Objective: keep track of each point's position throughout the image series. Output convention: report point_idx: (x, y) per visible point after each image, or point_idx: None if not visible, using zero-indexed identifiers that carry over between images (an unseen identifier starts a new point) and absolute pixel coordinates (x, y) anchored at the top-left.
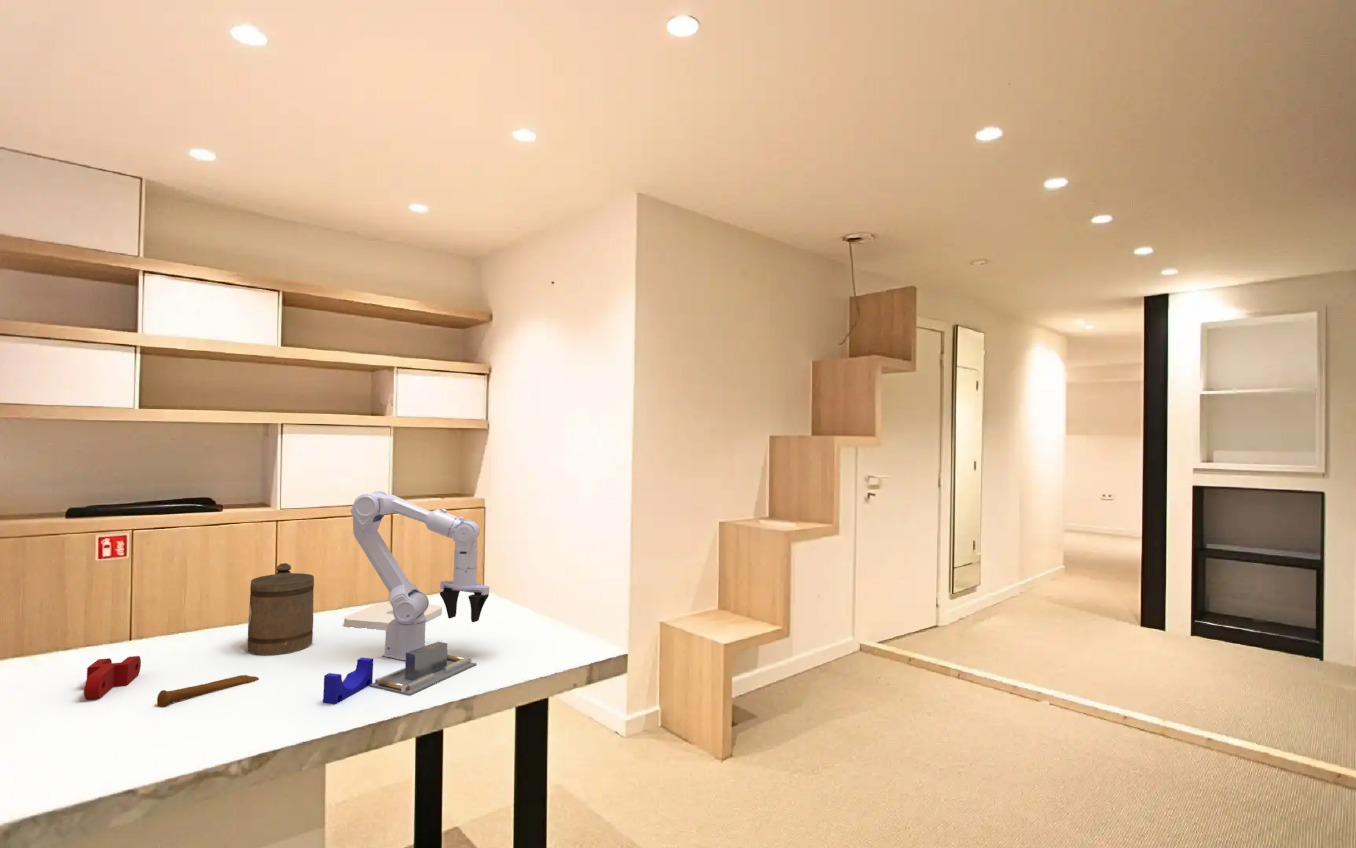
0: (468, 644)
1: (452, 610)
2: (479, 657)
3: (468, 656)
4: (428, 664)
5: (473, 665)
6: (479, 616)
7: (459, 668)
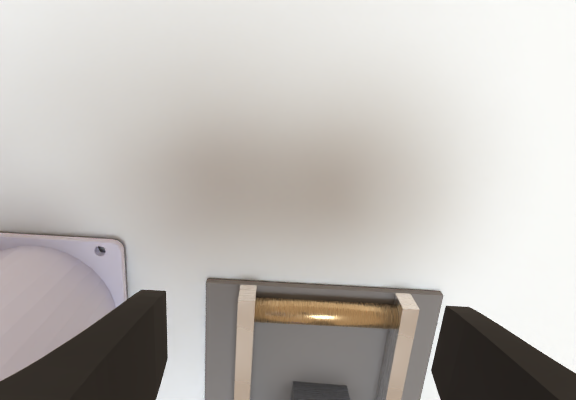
0: (190, 14)
1: (138, 385)
2: (394, 195)
3: (403, 312)
4: None
5: (437, 313)
6: (497, 328)
7: None
